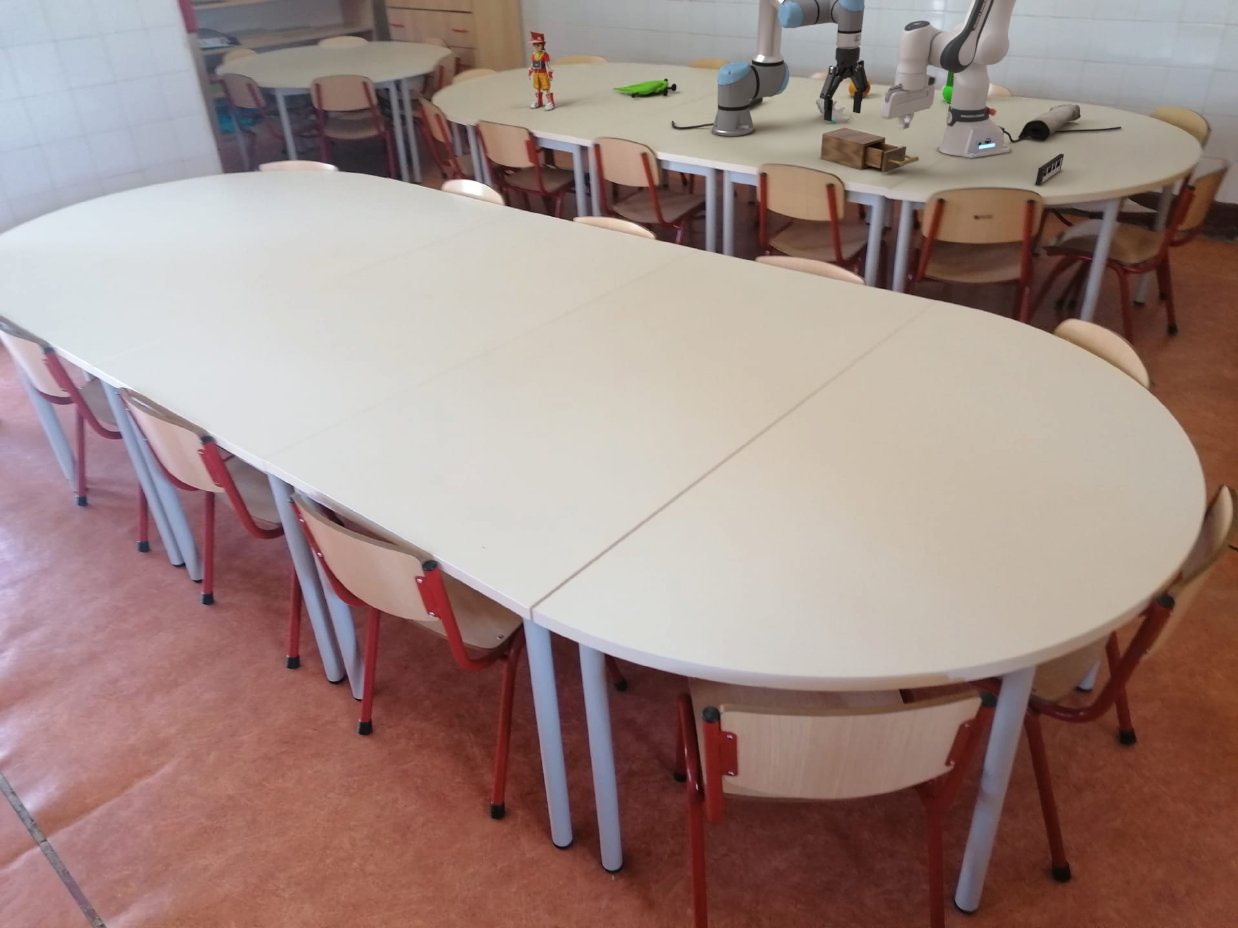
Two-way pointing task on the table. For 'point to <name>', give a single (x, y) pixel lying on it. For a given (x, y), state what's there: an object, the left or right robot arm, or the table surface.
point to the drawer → (886, 156)
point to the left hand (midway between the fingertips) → (842, 116)
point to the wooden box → (847, 146)
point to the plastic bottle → (948, 87)
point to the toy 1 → (541, 71)
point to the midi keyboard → (1049, 169)
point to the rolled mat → (1050, 122)
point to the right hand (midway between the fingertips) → (904, 128)
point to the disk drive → (754, 102)
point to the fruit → (853, 89)
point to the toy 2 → (648, 88)
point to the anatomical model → (835, 112)
